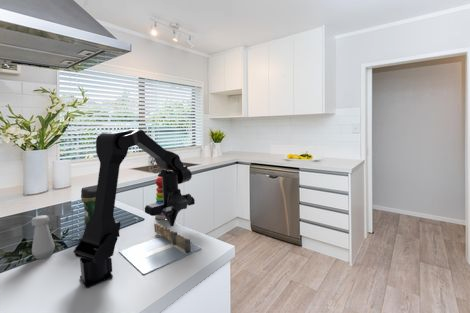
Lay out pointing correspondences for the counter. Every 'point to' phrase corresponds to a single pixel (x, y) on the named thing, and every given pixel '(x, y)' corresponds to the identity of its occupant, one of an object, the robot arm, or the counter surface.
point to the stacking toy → (159, 196)
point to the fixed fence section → (181, 242)
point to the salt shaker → (42, 238)
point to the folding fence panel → (163, 231)
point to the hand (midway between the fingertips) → (171, 226)
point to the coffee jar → (88, 202)
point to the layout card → (155, 254)
